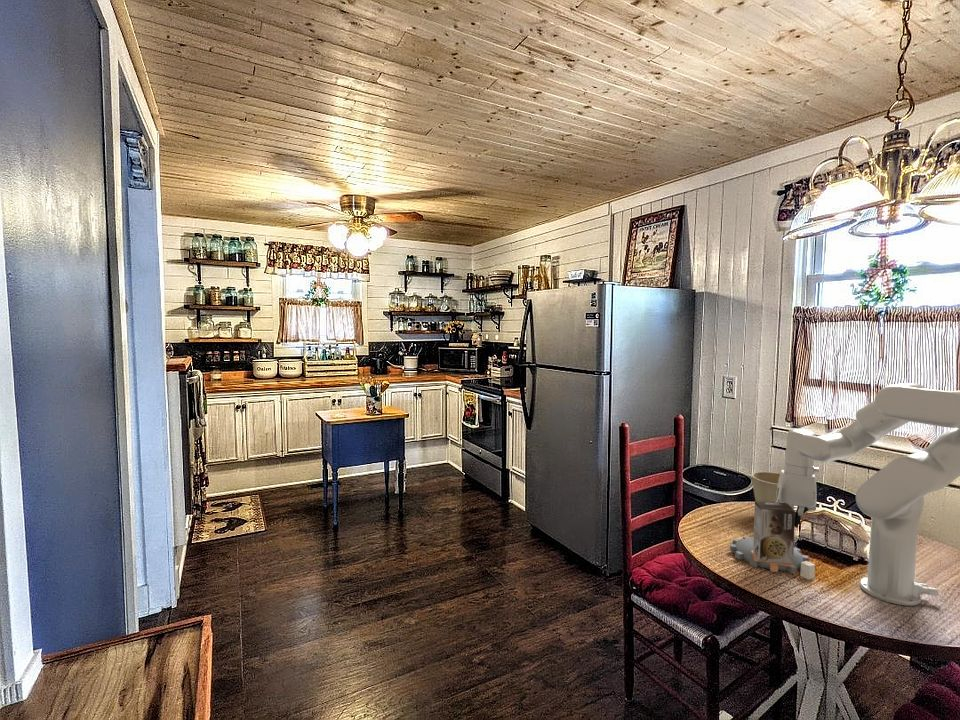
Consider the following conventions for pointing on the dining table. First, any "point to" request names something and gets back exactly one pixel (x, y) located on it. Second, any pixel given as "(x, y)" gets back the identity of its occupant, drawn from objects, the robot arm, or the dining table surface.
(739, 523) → the dining table surface
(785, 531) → the coffee box
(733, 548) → the index wheel
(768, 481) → the plant pot
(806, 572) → the wheel stand
